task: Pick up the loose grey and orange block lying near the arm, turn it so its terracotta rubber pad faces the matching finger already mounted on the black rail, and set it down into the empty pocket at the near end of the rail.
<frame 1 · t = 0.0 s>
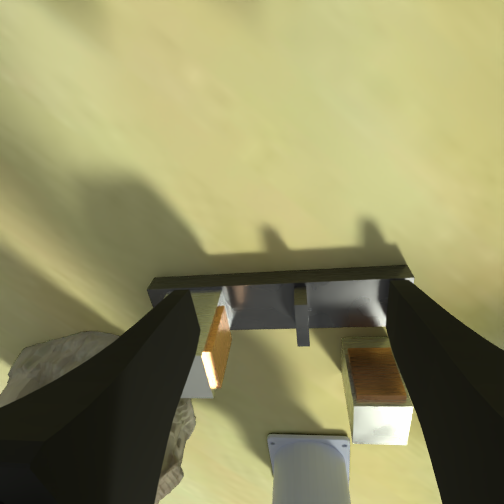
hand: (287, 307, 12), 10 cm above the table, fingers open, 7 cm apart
ceramic cottage: (111, 388, 33), on the table
rail: (275, 294, 24), on the table
grey and orange block: (363, 355, 26), on the table
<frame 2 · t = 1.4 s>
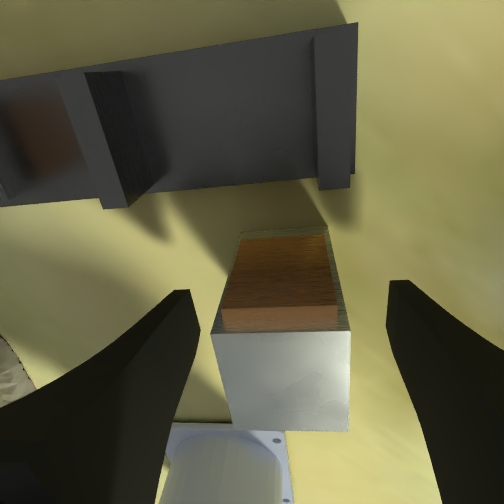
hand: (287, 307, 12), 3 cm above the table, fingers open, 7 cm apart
rail: (98, 132, 12), on the table
grey and orange block: (287, 270, 14), on the table
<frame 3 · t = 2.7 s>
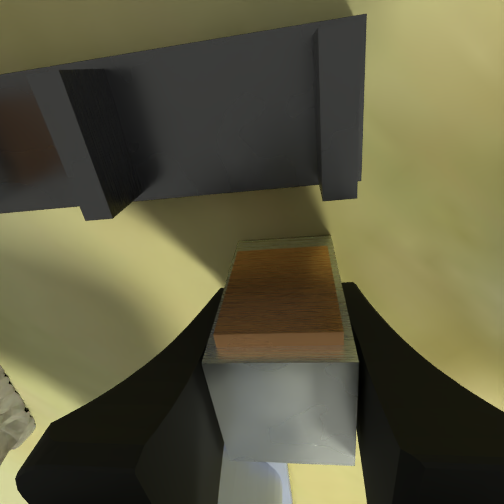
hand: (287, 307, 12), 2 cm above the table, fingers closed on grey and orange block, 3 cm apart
rail: (83, 135, 11), on the table
grey and orange block: (287, 281, 13), on the table, touching gripper
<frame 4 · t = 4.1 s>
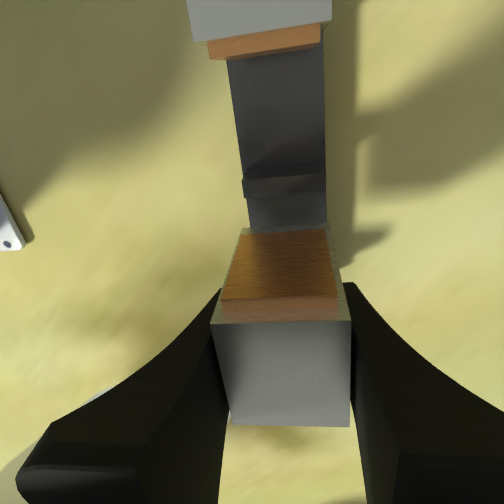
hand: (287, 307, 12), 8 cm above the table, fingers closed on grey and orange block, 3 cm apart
rail: (281, 127, 16), on the table
grey and orange block: (287, 267, 14), point 5 cm above the table, touching gripper
when the fingers open (4 cm above the table, at t = 5.4 s): grey and orange block stays where it is, resting on rail.
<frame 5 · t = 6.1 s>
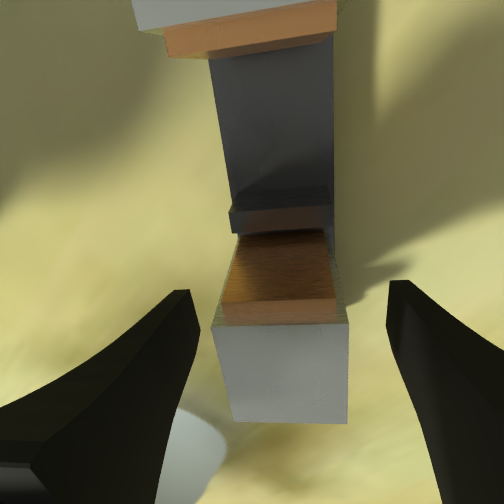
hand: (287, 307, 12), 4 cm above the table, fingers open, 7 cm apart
rail: (279, 142, 13), on the table
grey and orange block: (287, 265, 14), point 1 cm above the table, touching rail
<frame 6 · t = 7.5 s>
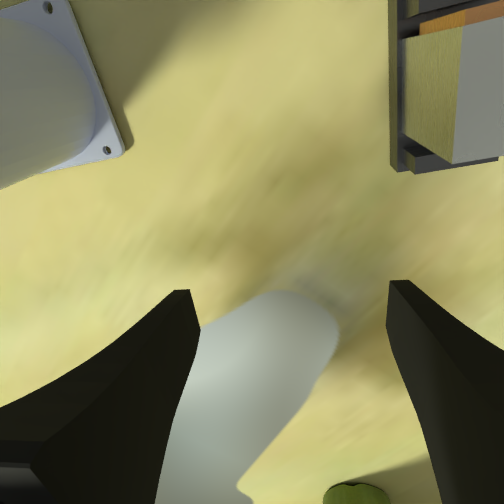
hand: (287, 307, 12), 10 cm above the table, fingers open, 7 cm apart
grey and orange block: (442, 80, 15), point 1 cm above the table, touching rail
plant pot: (356, 495, 37), on the table
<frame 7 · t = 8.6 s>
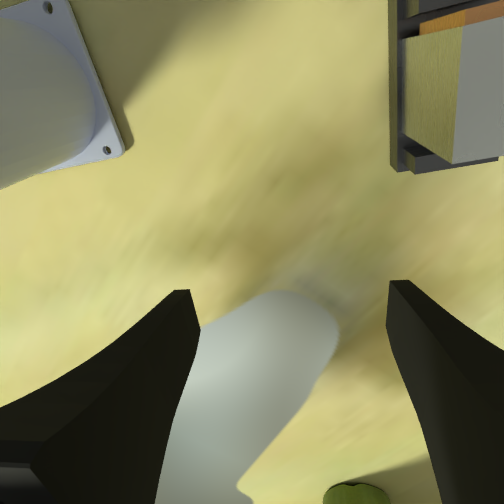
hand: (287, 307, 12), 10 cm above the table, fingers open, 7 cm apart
grey and orange block: (442, 80, 15), point 1 cm above the table, touching rail
plant pot: (356, 495, 37), on the table
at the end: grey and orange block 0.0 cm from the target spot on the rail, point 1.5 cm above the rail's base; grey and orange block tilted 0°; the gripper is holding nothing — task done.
